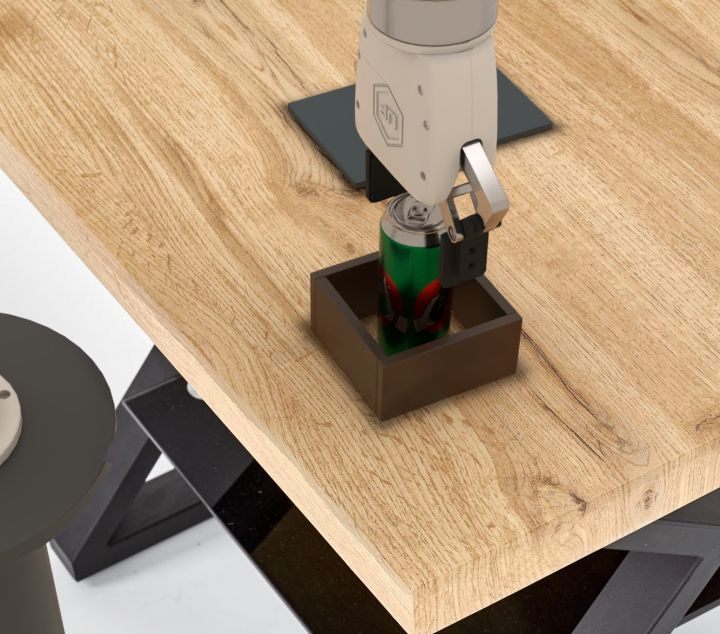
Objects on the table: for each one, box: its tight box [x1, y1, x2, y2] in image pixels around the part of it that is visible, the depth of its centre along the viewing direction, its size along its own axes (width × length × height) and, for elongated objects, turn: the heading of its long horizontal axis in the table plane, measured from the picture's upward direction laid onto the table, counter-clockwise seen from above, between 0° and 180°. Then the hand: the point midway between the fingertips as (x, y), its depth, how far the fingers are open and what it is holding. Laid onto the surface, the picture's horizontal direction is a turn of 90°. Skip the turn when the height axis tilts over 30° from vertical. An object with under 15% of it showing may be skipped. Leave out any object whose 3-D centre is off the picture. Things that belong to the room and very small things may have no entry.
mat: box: [287, 66, 554, 190], centre depth 128 cm, size 18×12×1 cm, turn 118°
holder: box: [309, 250, 524, 423], centre depth 108 cm, size 11×11×5 cm
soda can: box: [375, 192, 453, 357], centre depth 105 cm, size 5×5×12 cm
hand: (424, 236), depth 102 cm, fingers open, 9 cm apart
